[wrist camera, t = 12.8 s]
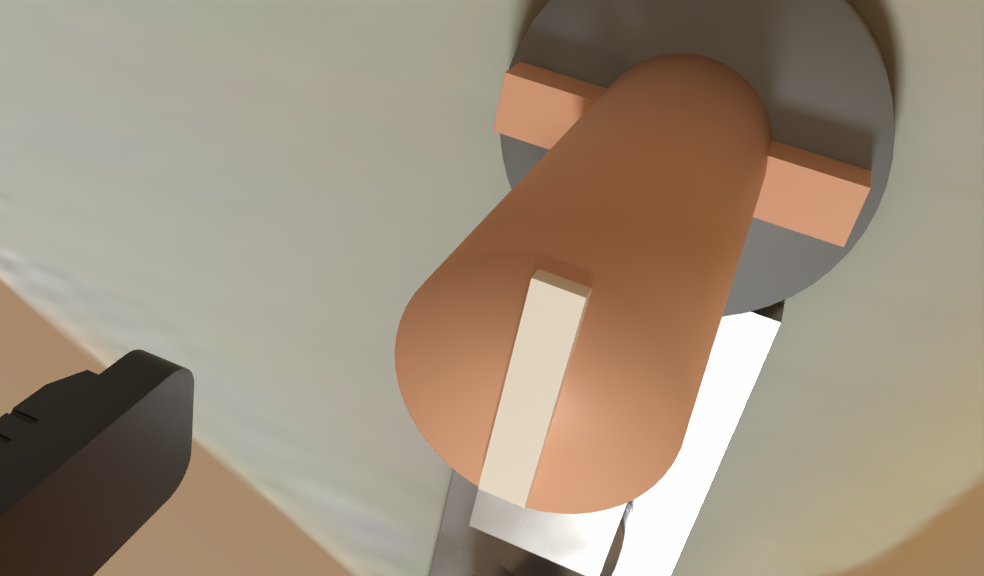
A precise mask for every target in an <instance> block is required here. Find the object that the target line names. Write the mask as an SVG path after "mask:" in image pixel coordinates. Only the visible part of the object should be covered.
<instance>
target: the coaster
mask: <svg viewBox="0 0 984 576" xmlns="http://www.w3.org/2000/svg"><path fill="white" fill-rule="evenodd" d="M670 53H689V54H697V55H701V56H706V57H709V58H712V59H714V60H717V61H720V62H721V63H723V64H725V65H727V66H729V67H731V68H732V69H733V70H735V71H736V72H738V73H739V74H740V75H741V76H742V77H743V78H745V79H746V80H747V81H748V82H749V83H750V85H751V86H752V87H753V88H754V90H755V91H756V92H757V94H758V95H759V97H760V99H761V100H762V102H763V104H764V106H765V109H766V111H767V113H768V117H769V120H770V124H771V131H772V140H774V141H777V142H780V143H783V144H787V145H790V146H793V147H796V148H799V149H803V150H806V151H809V152H812V153H815V154H819V155H822V156H825V157H828V158H831V159H835V160H838V161H841V162H844V163H847V164H851V165H854V166H857V167H860V168H863V169H867V170H870V171H871V189H870V191H869V193H868V195H867V198H866V200H865V202H864V204H863V206H862V209H861V211H860V213H859V215H858V217H857V220H856V222H855V224H854V226H853V228H852V230H851V233H850V235H849V237H848V239H847V241H846V244H845V246H844V247H842V246H838V245H835V244H832V243H829V242H826V241H823V240H820V239H817V238H814V237H811V236H808V235H805V234H802V233H799V232H796V231H793V230H790V229H787V228H784V227H781V226H778V225H775V224H772V223H769V222H766V221H763V220H760V219H757V218H754V217H753V218H752V221H751V224H750V227H749V231H748V234H747V237H746V240H745V244H744V247H743V250H742V253H741V257H740V260H739V263H738V266H737V270H736V273H735V276H734V279H733V283H732V286H731V289H730V292H729V296H728V299H727V302H726V305H725V309H724V312H723V315H722V317H724V316H730V315H736V314H742V313H747V312H751V311H754V310H757V309H761V308H764V307H768V306H771V305H773V304H775V303H778V302H780V301H782V300H785V299H787V298H789V297H791V296H793V295H795V294H797V293H798V292H800V291H802V290H803V289H805V288H807V287H809V286H810V285H812V284H813V283H815V282H816V281H817V280H819V279H820V278H821V277H823V276H824V275H825V274H826V273H828V272H829V271H830V270H832V269H833V268H834V267H835V266H836V265H837V264H838V263H839V262H840V261H841V260H842V259H843V258H844V257H845V256H846V255H847V254H848V253H849V252H850V250H851V249H852V248H853V246H854V245H855V244H856V242H857V241H858V240H859V238H860V237H861V236H862V234H863V233H864V232H865V230H866V229H867V227H868V225H869V223H870V221H871V220H872V218H873V216H874V214H875V212H876V211H877V209H878V206H879V204H880V201H881V198H882V196H883V193H884V191H885V188H886V185H887V182H888V177H889V173H890V168H891V164H892V159H893V147H894V133H895V130H894V111H893V97H892V89H891V85H890V80H889V76H888V71H887V67H886V64H885V61H884V59H883V56H882V54H881V51H880V48H879V46H878V43H877V41H876V39H875V37H874V36H873V34H872V32H871V30H870V29H869V27H868V25H867V23H866V22H865V20H864V18H863V17H862V15H861V14H860V13H859V12H858V10H857V9H856V8H855V6H854V5H853V4H852V3H851V1H850V0H550V1H549V2H548V3H547V4H546V6H545V7H544V8H543V9H542V11H541V12H540V13H539V14H538V16H537V17H536V18H535V19H534V21H533V22H532V23H531V25H530V27H529V29H528V30H527V32H526V34H525V35H524V37H523V39H522V40H521V42H520V44H519V46H518V48H517V51H516V53H515V55H514V58H513V60H512V62H511V65H510V68H509V69H511V68H512V67H514V66H515V65H516V64H518V63H519V62H520V61H521V62H524V63H527V64H530V65H534V66H537V67H540V68H543V69H547V70H550V71H553V72H556V73H559V74H563V75H566V76H569V77H572V78H575V79H579V80H582V81H585V82H588V83H591V84H595V85H598V86H601V87H604V88H607V89H608V88H609V87H610V85H611V84H612V83H613V82H614V81H615V80H616V79H617V78H618V77H619V76H620V75H622V74H623V73H624V72H625V71H626V70H628V69H629V68H631V67H633V66H634V65H636V64H638V63H640V62H642V61H644V60H646V59H649V58H652V57H655V56H658V55H664V54H670ZM500 137H501V146H502V155H503V160H504V164H505V168H506V173H507V177H508V180H509V183H510V186H511V188H512V189H513V188H514V187H515V186H516V185H517V184H518V183H519V182H520V181H521V180H522V179H523V178H524V176H525V175H526V174H527V173H528V172H529V171H530V170H531V169H532V168H533V167H534V166H535V165H536V164H537V163H538V162H539V161H540V160H541V158H542V157H543V156H544V155H545V154H546V153H547V152H548V151H549V149H546V148H543V147H540V146H537V145H534V144H531V143H528V142H525V141H522V140H519V139H516V138H513V137H510V136H507V135H504V134H501V133H500Z"/></svg>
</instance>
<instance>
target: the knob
mask: <svg viewBox="0 0 984 576" xmlns="http://www.w3.org/2000/svg"><path fill="white" fill-rule="evenodd" d="M493 131H495V132H498V133H501V134H504V135H507V136H510V137H513V138H516V139H519V140H522V141H525V142H528V143H531V144H534V145H537V146H540V147H543V148H546V149H549V151H548V152H547V153H546V154H545V155H544V156H543V157H542V158H541V160H540V161H539V162H538V163H537V164H536V165H535V166H534V167H533V168H532V169H531V170H530V171H529V172H528V173H527V174H526V175H525V176H524V178H523V179H522V180H521V181H520V182H519V183H518V184H517V185H516V186H515V187H514V188H513V189H512V190H511V191H510V192H509V193H508V194H507V195H506V197H505V198H504V199H503V200H502V201H501V202H500V203H499V204H498V205H497V206H496V207H495V208H494V209H493V210H492V211H491V212H490V213H489V215H488V216H487V217H486V218H485V219H484V220H483V221H482V222H481V223H480V224H479V225H478V226H477V227H476V228H475V229H474V230H473V231H472V233H471V234H470V235H469V236H468V237H467V238H466V239H465V240H464V241H463V242H462V243H461V244H460V245H459V246H458V247H457V248H456V249H455V251H454V252H453V253H452V254H451V255H450V256H449V257H448V258H447V259H446V260H445V261H444V262H443V263H442V264H441V265H440V266H439V267H438V268H437V270H436V271H435V272H434V273H433V274H432V275H431V276H430V277H429V278H428V279H427V280H426V281H425V282H424V283H423V285H422V286H421V287H420V288H419V289H418V290H417V291H416V292H415V294H414V295H413V297H412V298H411V300H410V302H409V303H408V305H407V306H406V308H405V311H404V313H403V315H402V318H401V320H400V324H399V328H398V332H397V336H396V345H395V367H396V373H397V379H398V384H399V388H400V391H401V394H402V397H403V400H404V403H405V405H406V407H407V409H408V411H409V414H410V416H411V418H412V419H413V421H414V423H415V424H416V426H417V428H418V429H419V431H420V432H421V434H422V435H423V437H424V438H425V439H426V441H427V442H428V443H429V445H430V446H431V447H432V448H433V449H434V450H435V451H436V452H437V453H438V455H439V456H440V457H441V458H442V459H443V460H444V461H445V462H446V463H448V464H449V465H450V466H451V467H452V468H453V469H454V470H455V471H456V472H458V473H459V474H461V475H462V476H463V477H465V478H466V479H467V480H469V481H470V482H471V483H473V484H475V485H476V486H478V489H480V490H483V491H485V492H487V493H490V494H492V495H495V496H497V497H499V498H501V499H503V500H506V501H508V502H511V503H514V504H516V505H518V506H521V507H523V508H525V507H526V508H530V509H534V510H538V511H544V512H551V513H560V514H582V513H593V512H599V511H604V510H609V509H612V508H615V507H618V506H621V505H623V504H626V503H628V502H630V501H632V500H634V499H636V498H638V497H640V496H641V495H643V494H644V493H645V492H647V491H648V490H650V489H651V488H653V487H654V486H655V485H656V484H657V483H658V482H659V481H660V480H661V479H662V478H663V477H664V476H665V475H666V473H667V472H668V470H669V469H670V468H671V466H672V465H673V464H674V462H675V460H676V458H677V456H678V454H679V452H680V450H681V448H682V445H683V442H684V439H685V435H686V432H687V429H688V426H689V422H690V419H691V416H692V413H693V409H694V406H695V403H696V400H697V396H698V393H699V390H700V387H701V383H702V380H703V377H704V374H705V370H706V367H707V364H708V361H709V357H710V354H711V351H712V348H713V344H714V341H715V338H716V335H717V331H718V328H719V325H720V322H721V318H722V315H723V312H724V309H725V305H726V302H727V299H728V296H729V292H730V289H731V286H732V283H733V279H734V276H735V273H736V270H737V266H738V263H739V260H740V257H741V253H742V250H743V247H744V244H745V240H746V237H747V234H748V231H749V227H750V224H751V221H752V218H753V217H754V218H757V219H760V220H763V221H766V222H769V223H772V224H775V225H778V226H781V227H784V228H787V229H790V230H793V231H796V232H799V233H802V234H805V235H808V236H811V237H814V238H817V239H820V240H823V241H826V242H829V243H832V244H835V245H838V246H842V247H844V246H845V244H846V241H847V239H848V237H849V235H850V233H851V230H852V228H853V226H854V224H855V222H856V220H857V217H858V215H859V213H860V211H861V209H862V206H863V204H864V202H865V200H866V198H867V195H868V193H869V191H870V189H871V171H870V170H867V169H863V168H860V167H857V166H854V165H851V164H847V163H844V162H841V161H838V160H835V159H831V158H828V157H825V156H822V155H819V154H815V153H812V152H809V151H806V150H803V149H799V148H796V147H793V146H790V145H787V144H783V143H780V142H777V141H774V140H772V131H771V124H770V120H769V117H768V113H767V111H766V109H765V106H764V104H763V102H762V100H761V99H760V97H759V95H758V94H757V92H756V91H755V90H754V88H753V87H752V86H751V85H750V83H749V82H748V81H747V80H746V79H745V78H743V77H742V76H741V75H740V74H739V73H738V72H736V71H735V70H733V69H732V68H731V67H729V66H727V65H725V64H723V63H721V62H720V61H717V60H714V59H712V58H709V57H706V56H701V55H697V54H689V53H670V54H664V55H658V56H655V57H652V58H649V59H646V60H644V61H642V62H640V63H638V64H636V65H634V66H633V67H631V68H629V69H628V70H626V71H625V72H624V73H623V74H622V75H620V76H619V77H618V78H617V79H616V80H615V81H614V82H613V83H612V84H611V85H610V87H609V88H608V89H607V88H604V87H601V86H598V85H595V84H591V83H588V82H585V81H582V80H579V79H575V78H572V77H569V76H566V75H563V74H559V73H556V72H553V71H550V70H547V69H543V68H540V67H537V66H534V65H530V64H527V63H524V62H521V61H520V62H519V63H518V64H516V65H515V66H514V67H512V68H511V69H509V70H508V71H507V72H505V76H504V81H503V85H502V90H501V95H500V100H499V105H498V110H497V114H496V119H495V124H494V129H493Z"/></svg>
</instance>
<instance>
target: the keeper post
mask: <svg viewBox="0 0 984 576" xmlns="http://www.w3.org/2000/svg"><path fill="white" fill-rule="evenodd" d="M783 309H784V306H783V305H780V304H777V303H775V304H773V305H771V306H768V307H764V308H761V309H757V310H754V311H751V312H747V313H742V314H736V315H730V316H724V317H722V318H721V322H720V325H719V328H718V331H717V335H716V338H715V341H714V344H713V348H712V351H711V354H710V357H709V361H708V364H707V367H706V370H705V374H704V377H703V380H702V383H701V387H700V390H699V393H698V396H697V400H696V403H695V406H694V409H693V413H692V416H691V419H690V422H689V426H688V429H687V432H686V435H685V439H684V442H683V445H682V448H681V450H680V452H679V454H678V456H677V458H676V460H675V462H674V464H673V465H672V466H671V468H670V469H669V470H668V472H667V473H666V475H665V476H664V477H663V478H662V479H661V480H660V481H659V482H658V483H657V484H656V485H655V486H654V487H653V488H651V489H650V490H648V491H647V492H645V493H644V494H643V495H641V496H640V497H638V498H636V499H634V500H632V501H630V502H628V503H626V504H623V505H621V506H618V507H615V508H612V509H609V510H604V511H599V512H593V513H582V514H560V513H551V512H544V511H538V510H534V509H530V508H526V507H525V508H523V507H521V506H518V505H516V504H514V503H511V502H508V501H506V500H503V499H501V498H499V497H497V496H495V495H492V494H490V493H487V492H485V491H483V490H480V489H478V486H476V485H475V484H473V483H471V482H470V481H469V480H467V479H466V478H465V477H463V476H462V475H461V474H459V473H458V472H456V471H455V470H454V472H453V477H452V481H451V485H450V490H449V494H448V498H447V502H446V507H445V511H444V515H443V520H442V524H441V528H440V533H439V537H438V541H437V545H436V550H435V554H434V558H433V563H432V567H431V571H430V576H671V574H672V571H673V569H674V567H675V564H676V562H677V560H678V557H679V555H680V553H681V551H682V548H683V546H684V544H685V541H686V539H687V537H688V535H689V532H690V530H691V528H692V525H693V523H694V521H695V518H696V516H697V514H698V512H699V509H700V507H701V505H702V502H703V500H704V498H705V496H706V493H707V491H708V489H709V486H710V484H711V482H712V479H713V477H714V475H715V473H716V470H717V468H718V466H719V463H720V461H721V459H722V457H723V454H724V452H725V450H726V447H727V445H728V443H729V440H730V438H731V436H732V434H733V431H734V429H735V427H736V424H737V422H738V420H739V418H740V415H741V413H742V411H743V408H744V406H745V404H746V401H747V399H748V397H749V395H750V392H751V390H752V388H753V385H754V383H755V381H756V379H757V376H758V374H759V372H760V369H761V367H762V365H763V362H764V360H765V358H766V356H767V353H768V351H769V349H770V346H771V344H772V342H773V340H774V337H775V335H776V333H777V330H778V328H779V326H780V323H781V320H782V314H783Z"/></svg>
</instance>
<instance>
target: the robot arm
mask: <svg viewBox="0 0 984 576" xmlns="http://www.w3.org/2000/svg"><path fill="white" fill-rule="evenodd" d="M193 396H194V378H193V374H192V372H191V371H190V370H189V369H186V368H184V367H182V366H179V365H177V364H174V363H172V362H170V361H167V360H165V359H162V358H160V357H158V356H155V355H153V354H150V353H148V352H146V351H143V350H134V351H131V352H129V353H128V354H126V355H125V356H123V357H122V358H121V359H119V360H118V361H117V362H115V363H114V364H113V365H111V366H110V367H109V368H107V369H106V370H105V371H103V372H102V373H101V374H99V375H98V374H96V373H93V372H91V371H89V370H86V371H83V372H80V373H77V374H74V375H72V376H69V377H66V378H64V379H61V380H58V381H55V382H52V383H50V384H47V385H45V386H43V387H42V388H41V389H39V390H38V391H36V392H35V393H34V394H32V395H31V396H29V397H28V398H27V399H25V400H24V401H22V402H21V403H20V404H18V405H17V406H15V407H14V408H13V411H12V412H11V413H10V414H8V413H6V414H4V415H3V416H1V417H0V576H93V575H94V574H95V573H96V572H97V571H98V570H99V569H100V568H101V567H102V566H103V565H104V564H105V563H106V562H107V561H108V560H109V559H110V558H111V557H112V556H113V555H114V554H115V553H116V552H117V551H118V550H119V549H120V548H121V547H122V546H123V545H124V544H125V543H126V542H127V541H128V539H130V537H131V536H132V535H134V533H135V532H136V531H137V530H138V529H139V528H140V527H141V526H142V525H143V524H144V523H145V522H146V521H147V520H148V519H149V518H150V517H151V516H152V515H153V514H154V513H155V512H156V511H157V510H158V509H159V508H160V507H161V506H162V505H163V504H164V503H165V502H166V501H167V500H168V499H169V498H170V497H171V496H172V495H173V493H174V492H175V491H176V489H177V487H178V486H179V485H180V483H181V481H182V479H183V477H184V475H185V473H186V470H187V468H188V465H189V462H190V456H191V442H192V420H193Z"/></svg>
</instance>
